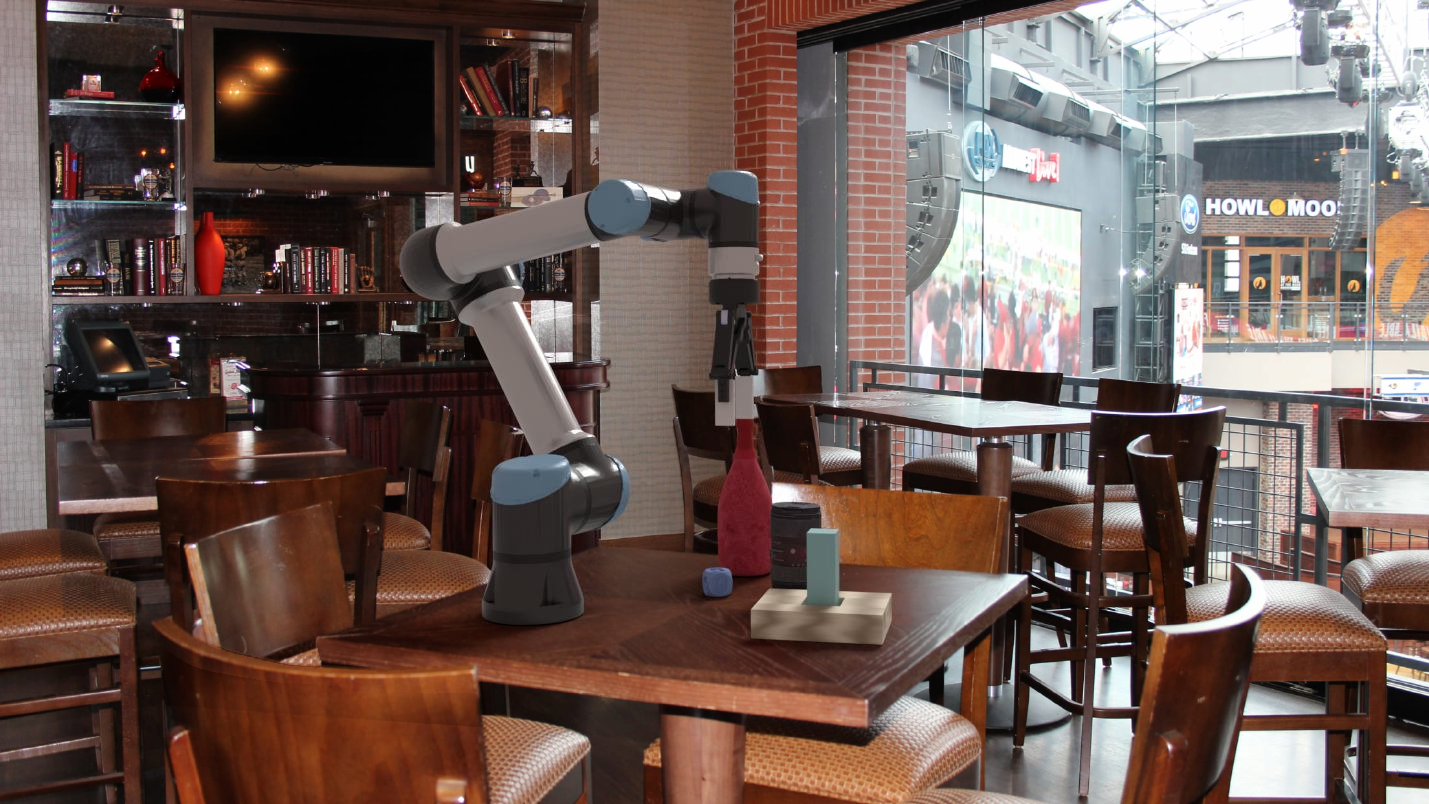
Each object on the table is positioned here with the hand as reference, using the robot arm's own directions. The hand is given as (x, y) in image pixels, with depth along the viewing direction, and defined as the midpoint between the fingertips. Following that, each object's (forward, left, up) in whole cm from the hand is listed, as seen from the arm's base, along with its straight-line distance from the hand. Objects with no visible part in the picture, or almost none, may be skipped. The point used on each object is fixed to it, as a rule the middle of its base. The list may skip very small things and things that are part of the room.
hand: (735, 422), depth 182 cm
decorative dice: (-6, +13, -29) cm, 32 cm away
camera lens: (+7, +12, -29) cm, 32 cm away
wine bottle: (-5, +31, -29) cm, 43 cm away
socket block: (+14, -7, -29) cm, 33 cm away
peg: (+14, -7, -29) cm, 33 cm away
